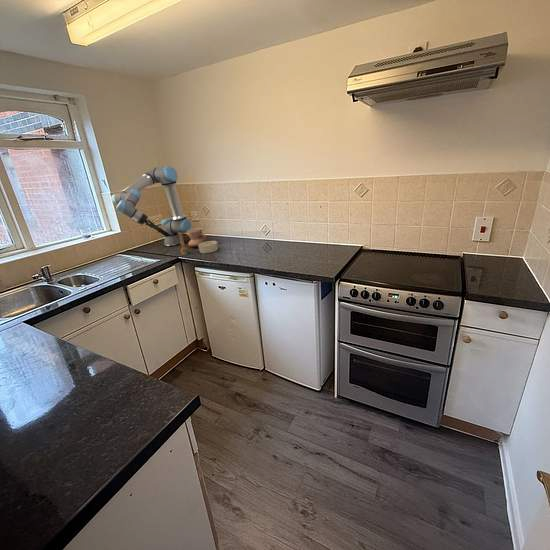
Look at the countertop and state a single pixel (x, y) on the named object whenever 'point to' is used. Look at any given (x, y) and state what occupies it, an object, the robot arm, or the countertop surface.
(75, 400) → the countertop surface
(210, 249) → the bowl
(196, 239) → the ceramic jug
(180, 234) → the brush
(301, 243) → the countertop surface
